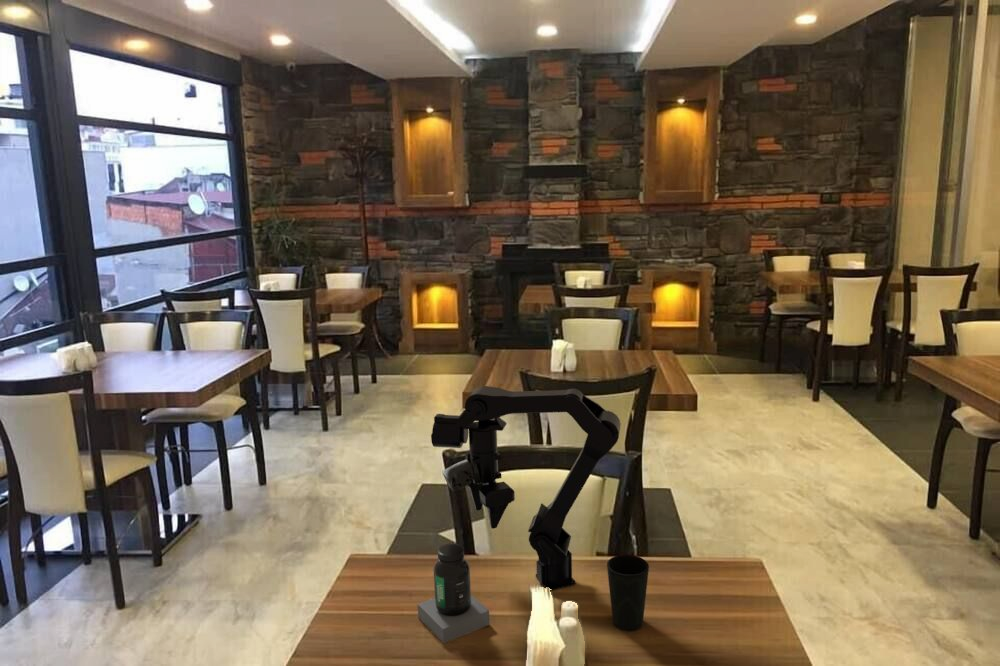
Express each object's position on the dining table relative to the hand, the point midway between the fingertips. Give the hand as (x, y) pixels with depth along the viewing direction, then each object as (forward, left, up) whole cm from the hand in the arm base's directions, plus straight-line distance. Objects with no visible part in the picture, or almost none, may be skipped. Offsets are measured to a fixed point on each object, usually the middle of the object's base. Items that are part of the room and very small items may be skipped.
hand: (486, 518), depth 156 cm
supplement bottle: (+12, +13, -10) cm, 20 cm away
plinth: (+12, +13, -13) cm, 22 cm away
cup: (-18, +27, -13) cm, 35 cm away
